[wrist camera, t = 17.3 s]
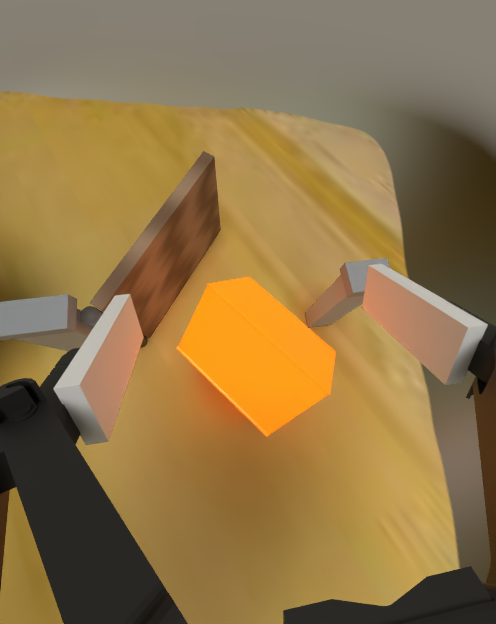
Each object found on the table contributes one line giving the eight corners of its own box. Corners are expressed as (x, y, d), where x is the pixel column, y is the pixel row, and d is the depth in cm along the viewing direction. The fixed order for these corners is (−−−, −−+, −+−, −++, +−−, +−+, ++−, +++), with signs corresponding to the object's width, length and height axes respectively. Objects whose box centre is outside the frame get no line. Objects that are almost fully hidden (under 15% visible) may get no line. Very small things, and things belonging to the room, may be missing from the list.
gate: (142, 349, 33) (91, 326, 21) (125, 339, 33) (64, 311, 21) (221, 229, 38) (215, 157, 26) (205, 221, 38) (192, 146, 26)
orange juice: (252, 416, 32) (281, 460, 13) (199, 365, 33) (151, 332, 14) (294, 367, 34) (376, 338, 14) (242, 319, 35) (253, 235, 16)
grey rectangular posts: (91, 359, 33) (-11, 337, 19) (91, 337, 33) (-7, 302, 20) (333, 326, 35) (396, 287, 22) (328, 307, 36) (386, 258, 22)
